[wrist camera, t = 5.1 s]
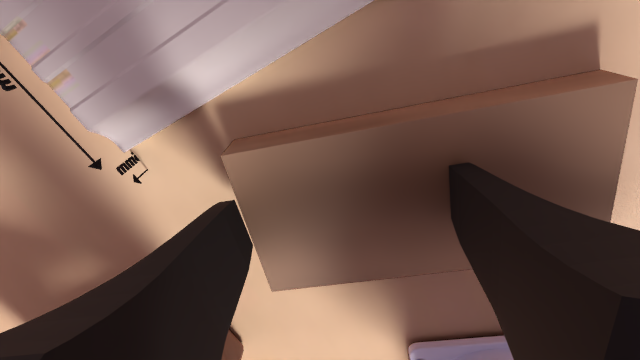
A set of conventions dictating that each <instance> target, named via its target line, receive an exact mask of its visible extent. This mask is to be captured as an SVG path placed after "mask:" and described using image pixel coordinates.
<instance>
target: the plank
mask: <svg viewBox="0 0 640 360" xmlns="http://www.w3.org/2000/svg"><path fill="white" fill-rule="evenodd" d="M637 81H638V79H636V78H632V77H628V76H624V75H620V74H616V73H612V72H608V71H604V70H596V71H591V72H585V73H580V74H575V75H570V76H565V77H559V78H554V79H549V80H544V81H538V82H533V83H528V84H523V85H518V86H512V87H507V88H502V89H497V90H491V91H486V92H481V93H476V94H471V95H465V96H460V97H455V98H450V99H444V100H439V101H434V102H429V103H424V104H418V105H413V106H408V107H403V108H397V109H392V110H387V111H382V112H377V113H371V114H366V115H361V116H356V117H350V118H345V119H340V120H335V121H330V122H324V123H319V124H314V125H309V126H303V127H298V128H293V129H288V130H283V131H277V132H272V133H267V134H262V135H256V136H251V137H246V138H241V139H236V140H234V141H233V142H232V143H231V144H230V145H229V147H228V148H227V149H226V150H225V151H224V153H223V154H222V155H221V159H222V161H223V164H224V167H225V169H226V172H227V175H228V177H229V180H230V182H231V185H232V188H233V190H234V193H235V196H236V198H237V201H238V204H239V206H240V209H241V212H242V214H243V217H244V219H245V222H246V225H247V227H248V230H249V233H250V235H251V238H252V241H253V243H254V246H255V248H256V251H257V254H258V256H259V259H260V262H261V264H262V267H263V270H264V272H265V275H266V278H267V280H268V283H269V285H270V288H271V291H272V292H273V291H282V290H291V289H300V288H309V287H318V286H327V285H336V284H345V283H353V282H362V281H371V280H380V279H389V278H398V277H407V276H416V275H425V274H434V273H443V272H452V271H461V270H470V269H472V267H471V265H470V263H469V261H468V259H467V257H466V255H465V253H464V251H463V249H462V247H461V245H460V243H459V240H458V237H457V234H456V232H455V229H454V226H453V223H452V220H451V208H450V186H449V165H456V164H462V163H468V162H469V163H472V164H474V165H476V166H478V167H480V168H482V169H484V170H485V171H487V172H489V173H491V174H493V175H495V176H497V177H499V178H501V179H502V180H504V181H506V182H508V183H510V184H512V185H514V186H516V187H518V188H520V189H523V190H525V191H527V192H529V193H531V194H533V195H536V196H538V197H540V198H543V199H545V200H547V201H550V202H552V203H554V204H557V205H560V206H562V207H565V208H567V209H570V210H573V211H576V212H579V213H582V214H585V215H588V216H590V217H593V218H597V219H600V220H603V221H606V222H610V220H611V215H612V210H613V205H614V200H615V195H616V189H617V184H618V179H619V174H620V169H621V163H622V158H623V153H624V148H625V143H626V138H627V132H628V127H629V122H630V117H631V112H632V107H633V101H634V96H635V91H636V86H637Z"/></svg>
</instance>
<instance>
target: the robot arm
mask: <svg viewBox="0 0 640 360" xmlns="http://www.w3.org/2000/svg"><path fill="white" fill-rule="evenodd" d="M449 186H450V208H451V220H452V223H453V226H454V229H455V232H456V234H457V237H458V240H459V243H460V245H461V247H462V249H463V251H464V253H465V255H466V257H467V259H468V261H469V263H470V265H471V267H472V269H473V270H474V272H475V274H476V276H477V278H478V280H479V282H480V284H481V286H482V288H483V290H484V292H485V294H486V295H487V297H488V299H489V301H490V303H491V305H492V307H493V310H494V312H495V314H496V316H497V318H498V321H499V323H500V326H501V328H502V331H503V333H504V336H492V337H479V338H467V339H454V340H442V341H430V342H417V343H413V344H411V345H410V346H409V348H408V352H409V358H410V360H640V231H639V230H635V229H632V228H628V227H624V226H621V225H617V224H613V223H610V222H606V221H603V220H600V219H597V218H593V217H590V216H588V215H585V214H582V213H579V212H576V211H573V210H570V209H567V208H565V207H562V206H560V205H557V204H554V203H552V202H550V201H547V200H545V199H543V198H540V197H538V196H536V195H533V194H531V193H529V192H527V191H525V190H523V189H520V188H518V187H516V186H514V185H512V184H510V183H508V182H506V181H504V180H502V179H501V178H499V177H497V176H495V175H493V174H491V173H489V172H487V171H485V170H484V169H482V168H480V167H478V166H476V165H474V164H472V163H469V162H468V163H462V164H456V165H449ZM252 248H253V244H252V242H251V239H250V237H249V234H248V232H247V230H246V227H245V225H244V222H243V220H242V217H241V215H240V212H239V210H238V207H237V205H236V202H235V200H232V201H225V202H219V203H217V204H215V205H214V206H212V207H211V208H209V209H208V210H207V211H205V212H204V213H203V214H201V215H200V216H199V217H197V218H196V219H195V220H194V221H192V222H191V223H190V224H189V225H187V226H186V227H185V228H184V229H182V230H181V231H180V232H179V233H177V234H176V235H175V236H173V237H172V238H171V239H169V240H168V241H167V242H165V243H164V244H163V245H161V246H160V247H159V248H157V249H156V250H155V251H153V252H152V253H151V254H149V255H148V256H146V257H145V258H144V259H142V260H141V261H139V262H138V263H136V264H135V265H133V266H132V267H130V268H129V269H127V270H125V271H124V272H122V273H121V274H119V275H117V276H116V277H114V278H113V279H111V280H109V281H107V282H106V283H104V284H102V285H100V286H98V287H97V288H95V289H93V290H91V291H89V292H88V293H86V294H84V295H82V296H80V297H79V298H77V299H75V300H73V301H71V302H69V303H67V304H65V305H63V306H61V307H59V308H57V309H55V310H52V311H50V312H48V313H46V314H44V315H42V316H40V317H37V318H35V319H33V320H31V321H29V322H26V323H24V324H22V325H19V326H17V327H15V328H12V329H10V330H7V331H5V332H2V333H0V360H221V359H222V354H223V350H224V345H225V341H226V338H227V334H228V331H229V328H230V325H231V322H232V319H233V316H234V313H235V310H236V307H237V304H238V301H239V298H240V295H241V292H242V289H243V286H244V283H245V280H246V277H247V274H248V270H249V265H250V260H251V254H252Z"/></svg>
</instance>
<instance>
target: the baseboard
mask: <svg viewBox="0 0 640 360" xmlns="http://www.w3.org/2000/svg"><path fill="white" fill-rule="evenodd" d="M373 1H374V0H0V34H1V35H3V36H4V37H5V38H6V39H7V40H8V41H9V42H10V43H11V45H12V46H13V47H14V48H15V49H16V50H17V51H18V52H19V53H20V54H21V55H22V57H23V58H24V59H25V60H26V61H27V62H28V63H29V64H30V65H31V67H32V70H33V72H34V73H35V74H36V75H37V76H38V77H39V78H40V79H41V80H42V81H43V82H45V83H47V84H48V85H49V86H50V87H51V88H52V89H53V90H54V91H55V93H56V94H57V95H58V96H59V97H60V98H61V99H62V100H63V101H64V102H65V103H66V105H67V106H68V107H69V108H70V111H71V113H72V114H73V115H74V116H75V117H76V118H77V119H78V120H79V122H80V123H81V124H82V125H83V126H84V127H85V128H86V129H87V130H88V131H90V132H93V133H97V134H100V135H102V136H104V137H106V138H108V139H110V140H111V141H113V142H114V143H115V144H116V145H117V146H118V147H119V148H120V149H121V150H122V151H123V152H124V153H125V152H126V151H128V150H130V149H131V148H133V147H135V146H136V145H138V144H139V143H141V142H143V141H144V140H146V139H148V138H149V137H151V136H153V135H154V134H156V133H157V132H159V131H161V130H162V129H164V128H166V127H167V126H169V125H171V124H172V123H174V122H176V121H177V120H179V119H180V118H182V117H184V116H185V115H187V114H189V113H190V112H192V111H194V110H195V109H197V108H199V107H200V106H202V105H203V104H205V103H207V102H208V101H210V100H212V99H213V98H215V97H217V96H218V95H220V94H222V93H223V92H225V91H226V90H228V89H230V88H231V87H233V86H235V85H236V84H238V83H240V82H241V81H243V80H244V79H246V78H248V77H249V76H251V75H253V74H254V73H256V72H258V71H259V70H261V69H263V68H264V67H266V66H267V65H269V64H271V63H272V62H274V61H276V60H277V59H279V58H281V57H282V56H284V55H286V54H287V53H289V52H290V51H292V50H294V49H295V48H297V47H299V46H300V45H302V44H304V43H305V42H307V41H309V40H310V39H312V38H313V37H315V36H317V35H318V34H320V33H322V32H323V31H325V30H327V29H328V28H330V27H331V26H333V25H335V24H336V23H338V22H340V21H341V20H343V19H345V18H346V17H348V16H350V15H351V14H353V13H354V12H356V11H358V10H359V9H361V8H363V7H364V6H366V5H368V4H369V3H371V2H373ZM0 66H1V67H2V68H3V69H4V70H5V71H6V72H7V73H8V74H9V75H10V76H11V77H12V78H13V79H14V80H15V81H16V82H17V83H18V84H19V85H20V86H21V87H22V89H23V90H24V91H25V92H26V93H27V94H28V95H29V96H30V97H31V98H32V99H33V100H34V101H35V102H36V103H37V104H38V105H39V106H40V107H41V108H42V109H43V110H44V112H45V113H46V114H47V115H48V116H49V117H50V118H51V119H52V120H53V121H54V122H55V123H56V124H57V125H58V126H59V127H60V128H61V129H62V130H63V131H64V132H65V133H66V135H67V136H68V137H69V138H70V139H71V140H72V141H73V142H74V143H75V144H76V145H77V146H78V147H79V148H80V149H81V150H82V151H83V152H84V153H85V154H86V155H87V156H88V158H89V159H90V160H91V161H92V162H93V164H91V165H90V166H88V167H91V168H95V169H100V170H101V169H102V166H101V158H100V159H99V160H97V161H96V162H95V161H94V160H93V159H92V158H91V157H90V155H89V154H88V153H87V152H86V151H85V150H84V149H83V148H82V147H81V146H80V145H79V144H78V143H77V142H76V141H75V140H74V139H73V138H72V137H71V136H70V134H69V133H68V132H67V131H66V130H65V129H64V128H63V127H62V126H61V125H60V124H59V123H58V122H57V121H56V120H55V119H54V118H53V117H52V116H51V115H50V113H49V112H48V111H47V110H46V109H45V108H44V107H43V106H42V105H41V104H40V103H39V102H38V101H37V100H36V99H35V98H34V97H33V96H32V95H31V94H30V92H29V91H28V90H27V89H26V88H25V87H24V86H23V85H22V84H21V83H20V82H19V81H18V80H17V79H16V78H15V77H14V76H13V75H12V74H11V73H10V71H9V70H8V69H7V68H6V67H5V66H4V65H3V64H2V63H1V62H0ZM4 77H6V76H5V75H4V74H3V73H2V74H0V79H1V78H4ZM9 83H11V81H10V80H9V79H6V80H0V85H1V87H2V89H3V90H5V91H10V90H13V89H16V88H17V87H16V86H15V85H11V86H6V85H5V84H9ZM131 154H132V155H133V152H131ZM134 158H135V159H134ZM134 158H133V157H132V156H131V157H130V158H128V160H126V161H125V163H126V164H127V165H128V166H127V165H126V164H125V163H122V164H121V165H120V166H118V167H117V168H116V169H117V171H118V172H119V173H120V174H121V175H123V174H124V173H126V172H127V171H126V170H125V168H126V169H127V170H129V169H130V168H132V166H134V165H135V164H137V163H138V162H137V161H140V160H139V159H138V158H137V157H136V156H135V155H134ZM131 159H132V160H133V162H134V163H135V164H134V163H133V162H132V161H131ZM136 160H137V161H136ZM129 162H130V163H131V165H132V166H131V165H130V164H129ZM123 166H124V167H125V168H124V167H123ZM120 168H121V169H122V170H123V172H124V173H123V172H122V171H121V170H120ZM147 170H148V169H147ZM147 170H145V171H144V172H143V173H142V174H141V175H140V176H139V177H138V178H137V177H136V176H135V175H134V174H133V179H134V182H136V183H140V184H141V182H140V181H139V180H138V179H139V178H140V177H141V176H142V175H143V174H144V173H145V172H146V171H147Z"/></svg>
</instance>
